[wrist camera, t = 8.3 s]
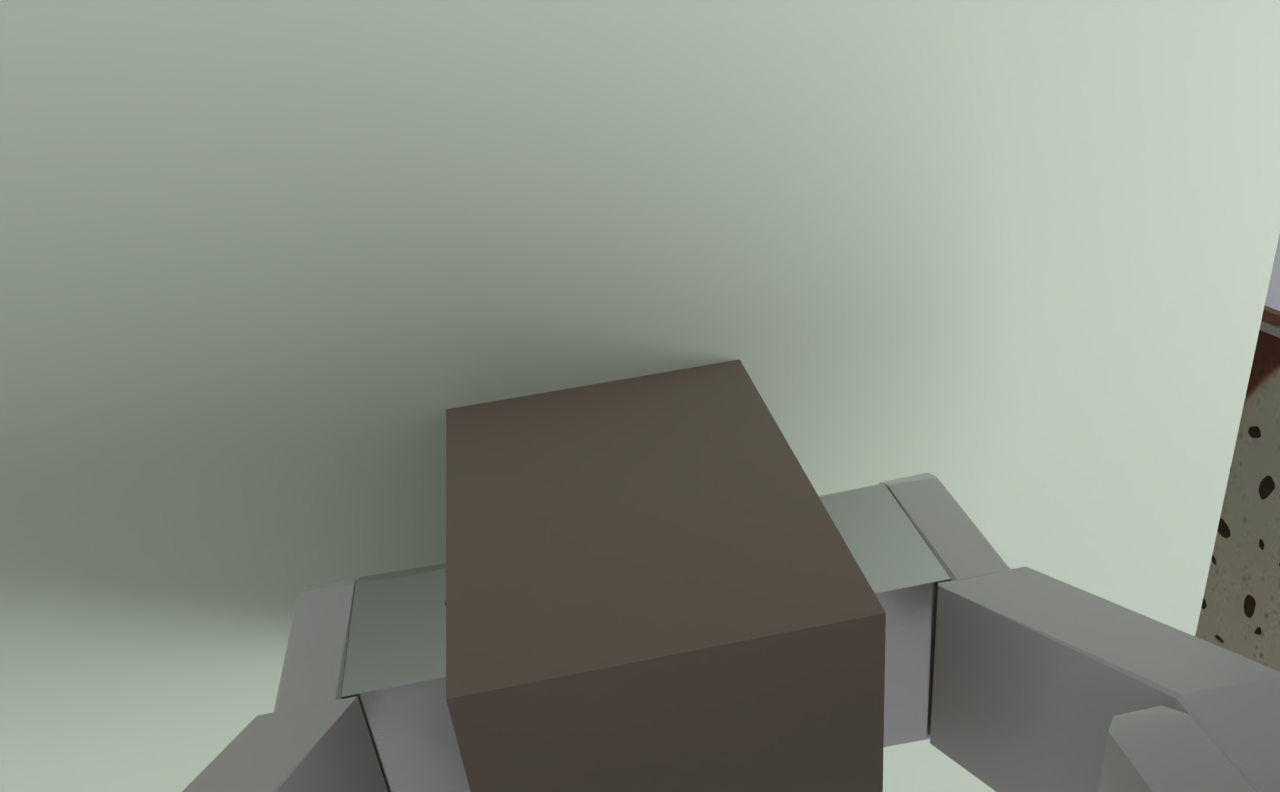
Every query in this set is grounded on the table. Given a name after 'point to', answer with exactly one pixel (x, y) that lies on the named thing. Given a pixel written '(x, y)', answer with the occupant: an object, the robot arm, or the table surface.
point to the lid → (600, 353)
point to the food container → (1250, 521)
